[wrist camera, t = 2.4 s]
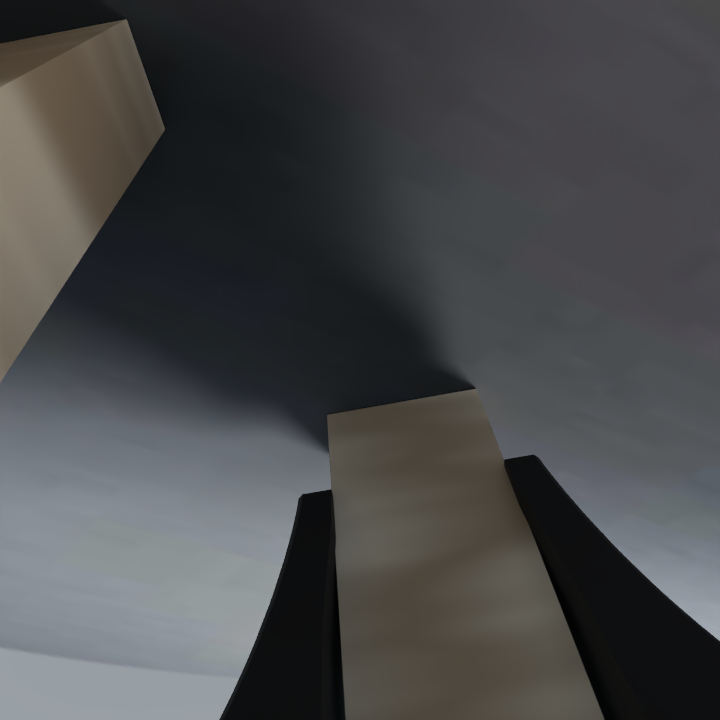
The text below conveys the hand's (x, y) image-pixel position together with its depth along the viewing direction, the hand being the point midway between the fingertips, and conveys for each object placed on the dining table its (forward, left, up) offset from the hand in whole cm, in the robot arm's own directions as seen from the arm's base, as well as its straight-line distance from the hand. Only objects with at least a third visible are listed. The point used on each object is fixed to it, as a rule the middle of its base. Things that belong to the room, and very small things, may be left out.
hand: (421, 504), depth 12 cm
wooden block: (0, 0, -2) cm, 2 cm away
